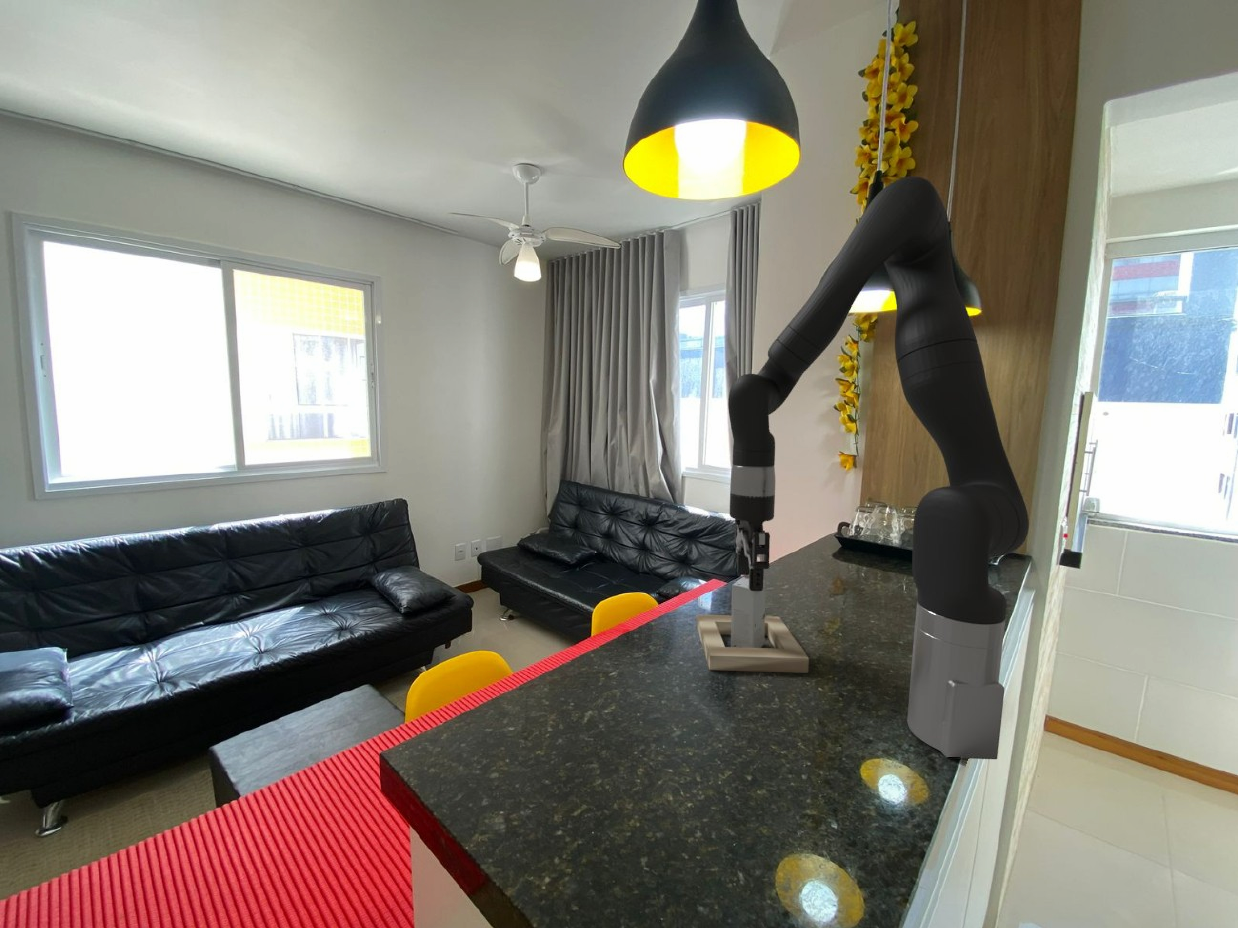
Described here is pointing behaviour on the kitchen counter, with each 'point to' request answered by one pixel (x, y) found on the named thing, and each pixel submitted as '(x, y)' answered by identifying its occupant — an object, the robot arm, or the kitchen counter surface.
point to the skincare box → (747, 615)
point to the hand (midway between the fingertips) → (749, 581)
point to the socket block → (751, 659)
